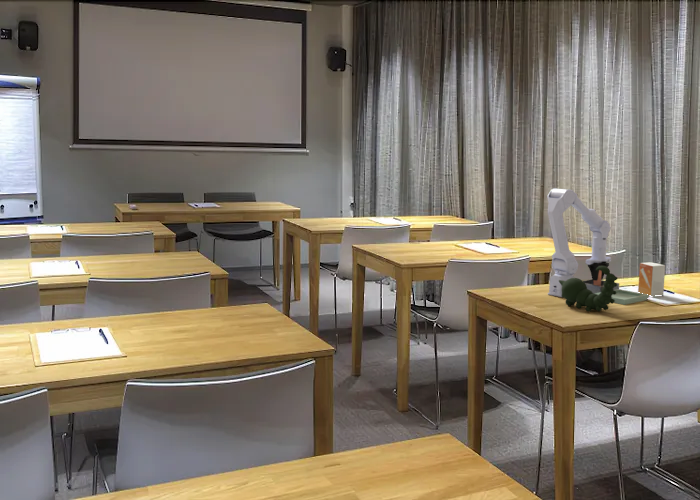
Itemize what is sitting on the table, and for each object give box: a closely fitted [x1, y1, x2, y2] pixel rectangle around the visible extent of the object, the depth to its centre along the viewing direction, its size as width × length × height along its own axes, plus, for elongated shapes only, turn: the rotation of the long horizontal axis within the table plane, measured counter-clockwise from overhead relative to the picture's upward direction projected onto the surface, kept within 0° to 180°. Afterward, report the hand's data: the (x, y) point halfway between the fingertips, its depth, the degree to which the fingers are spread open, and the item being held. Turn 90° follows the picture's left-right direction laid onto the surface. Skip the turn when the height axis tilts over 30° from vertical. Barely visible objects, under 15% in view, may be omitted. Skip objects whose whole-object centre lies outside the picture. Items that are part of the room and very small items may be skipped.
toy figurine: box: [559, 266, 618, 312], centre depth 275 cm, size 9×19×25 cm
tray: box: [595, 288, 650, 306], centre depth 293 cm, size 16×14×2 cm
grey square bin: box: [582, 278, 620, 294], centre depth 309 cm, size 13×13×4 cm
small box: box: [637, 261, 666, 296], centre depth 300 cm, size 8×6×13 cm
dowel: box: [593, 270, 602, 286], centre depth 308 cm, size 3×3×8 cm
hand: (597, 279), depth 309 cm, fingers closed on dowel, 3 cm apart
